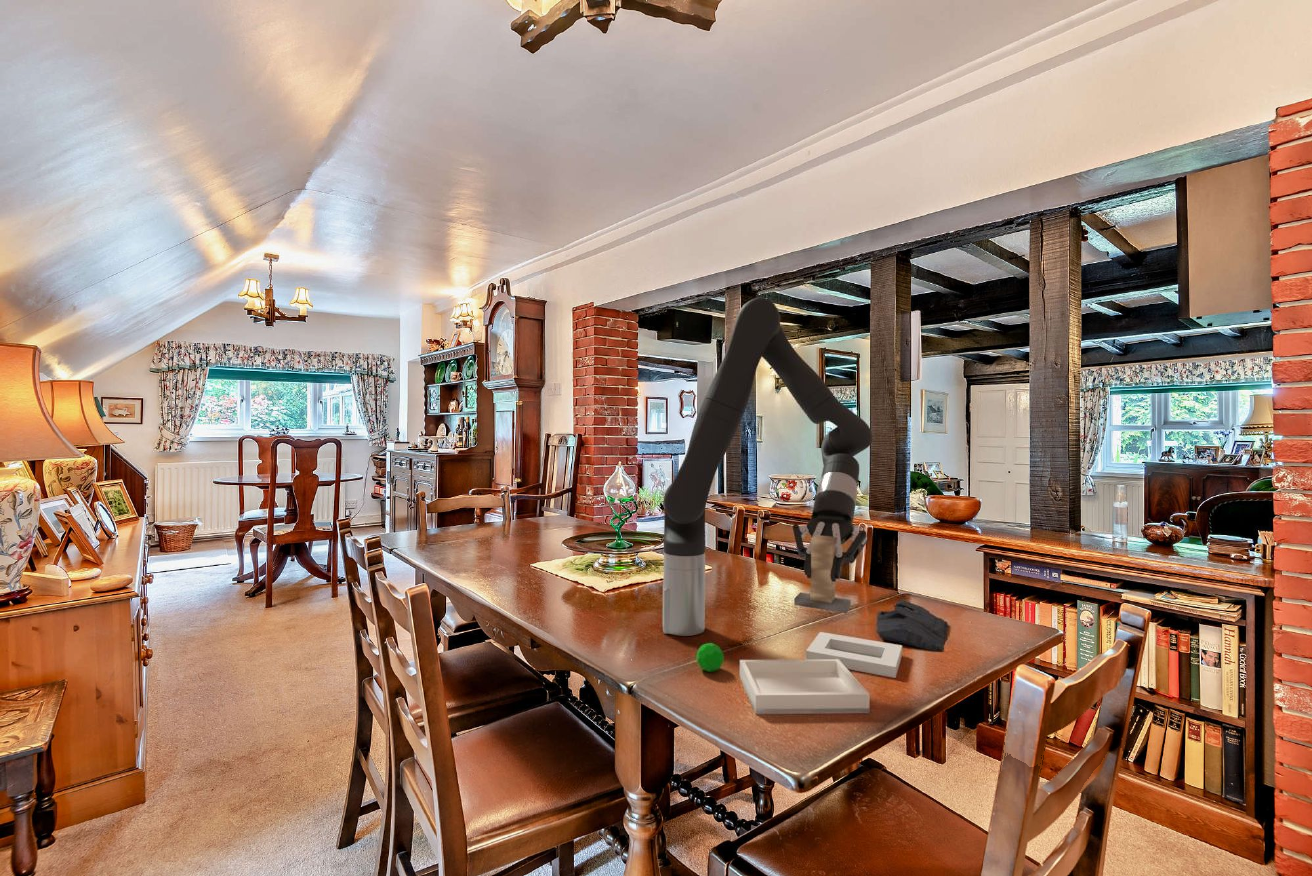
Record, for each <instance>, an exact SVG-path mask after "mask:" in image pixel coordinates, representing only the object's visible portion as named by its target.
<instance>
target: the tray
mask: <svg viewBox="0 0 1312 876" xmlns="http://www.w3.org/2000/svg"><path fill="white" fill-rule="evenodd" d="M739 678H740V681H741V683H742V685H743V688H744V691H745V693H746V695H747V697H748V700H749V703H750V704H751V707H752V710H753V711H754V714H755V715H804V714H805V715H806V714H807V715H816V714H817V715H818V714H823V715H824V714H829V715H831V714H870V700H871V699H870V698H871V697H870V696H871V695H870V693H869V692H868V690H866V688H865V687H864V686H863V685H862V684H861V683H860V682H859V681H858V680H857V678H856V677H855V676H854V675H853V674H852V673H851V672H850V669H847V668H846V667H845V666H844V665H843V664H842V662H841V661H840V660H839V659H806V658H805V659H739Z"/></svg>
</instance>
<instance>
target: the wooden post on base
mask: <svg viewBox="0 0 1312 876" xmlns="http://www.w3.org/2000/svg"><path fill="white" fill-rule="evenodd" d="M811 538H812V537H811ZM835 547H836V537H831V536H820V535H815V536H814V537H813V538H812V546H811V578H810V590H809V591H810V592H809V593H806V592H799V593H798V594H797V595H796V596H795V597H794V600H793V601H794V602H793V603H794V604H793V605H794V606H798V607H805V608H811V609H816V610H818V609H819V610H824V611H831V612H836V613H843V614H847V613H848V612H849V610H850V608H851V605H852V604H851V603H852V600H851V599H848V598H841V597H836V582H833V581H832V580H831V577H830V574H831V568H832V565H833V559H834V558H835Z"/></svg>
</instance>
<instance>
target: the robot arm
mask: <svg viewBox="0 0 1312 876" xmlns="http://www.w3.org/2000/svg"><path fill="white" fill-rule="evenodd" d="M762 358H763V359H764V361H766V363H767V364H768V365H769V366H770V367H771V368H772V369H773V371H774V372H775V374H776V375H777V376H778V377H779V379H780V380H781V381H782V382H783V384H784V386H785V387H786V389H787V390H788V391H789V393H790V395H791V396H792V398H793V399H794V400H795V402H796V403H797V404H798V405H799V407H800V409H801V410H802V411H803V412H804V414H805V415H806V416H807V418H808V419H809V420H810V422H812V423H813V424H815V425H820V424H822V423H825V422H829V423H832V424H833V425H834V426H836V427H835V428H833V429H831V430H830V431H829V432H828V433H826V434H825V436H824V437H823V439H822V442H821V445H820V449H821V456H822V464H823V467H822V472H821V477H820V480H819V484H818V486H817V489H816V492H815V499H814V502H813V507H812V512H811V516H810V519H809V521H808V522H807V524H805V525H801V526H800V525H799V524H797V523H793V525H792V530H793V536H794V540H795V544H796V550H797V553H798V556H799V557H800V558H805V559H804V563H803V571H804V575H806V577H807V579H811V546H812V538H813V537H814V536H815V535H820V536H831V537H836V547H835V558H834V559H833V565H832V568H831V574H830V577H831V580H832V581H833V582H835V583H836V582H837V580H840V578H841V576H842V575H841V574H842V568H843V565H844V564H846V563H849V564H853V563H855V561H856V560H857V558H858V557H859V555H860V553H861V552H862V550H863V549H864V548H865V546H866V544H867V543H868V535H867V531H866V530H856V529H854V526H853V522H854V517H855V516H854V515H855V509H856V506H857V502H858V501H857V498H858V484H859V477H860V464H859V461H858V459H856V458H855V456H857V455H858V454H859V453H860V454H861V453H862V452H863V451H864V450H867V449H868V448H869V447H870V445H872V442H873V433H872V431H871V428H870V426H869V424H867V422H866V421H865V420H864V419H862V418H861V417H860V416H858V415H857V414H856V413H855V412H853V411H852V410H850V409H849V408H848V407H847V406H846V405H844V404H843V403H842V402H841V401H840V400H838V399H837V397H836V396H835V395H834V393H833V392H832V391H831V389H830V388H829V386H828V385H827V384H826V382H824V380H823V379H822V378H821V377H820V376H819V374H818V373H817V372H816V371H815V370H814V369H813V368H812V367H811V366H810V365H809V364H808V363H807V362H806V361H805V360H804V359H803V358H802V357H801V356H800V355H799V353H798V352H797V351H796V350H795V348H794V346H793V345H792V344H791V343H790V341H789V339H788V338H787V336H786V334H785V332H784V330H783V329H782V326H781V315H780V311H779V310H778V307H777V306H776V305H775V303H774V302H773V301H772V300H770V299H769V298H765V297H755V298H753V299H749V301H747V302H746V303H744V304H743V305H742V307H741V308H740V309H739V312H738V313H737V316H736V319H735V323H734V326H733V331H732V334H731V338H730V340H729V343H728V346H727V350H726V352H725V355H724V357H723V359H722V361H721V363H720V365H719V367H718V369H717V370H716V373H715V375H714V377H713V379H712V381H711V384H710V385H709V387H708V389H707V392H706V393H705V396H704V399H703V401H702V403H701V405H700V408H699V410H698V412H697V416H696V419H695V421H694V425H693V428H692V431H691V436H690V440H689V444H688V447H687V450H686V454H685V456H684V459H683V461H682V462H681V465H680V467H679V469H678V471H677V474H676V475H675V477H674V479H673V480H672V482H671V483H670V484H669V486H668V487H667V489H666V490H665V493H664V496H663V508H664V509H663V510H664V512H663V513H664V515H663V516H664V519H663V521H664V523H663V524H664V525H663V526H664V527H663V583H662V631H663V634H670V635H674V636H682V637H688V636H689V637H690V636H697V635H699V634H702V633H704V632H705V629H706V628H705V626H706V624H705V623H706V617H705V615H706V614H705V613H706V609H705V607H706V506H707V502H708V497H709V495H710V491H711V487H712V485H713V481H714V479H715V475H716V472H717V470H718V468H719V466H720V465H721V462H722V460H723V458H724V456H725V454H726V453H727V451H728V450H729V448H730V445H731V443H732V441H733V439H734V437H735V435H736V433H737V431H738V429H739V426H740V424H741V422H742V419H743V417H744V415H745V411H746V409H747V406H748V403H749V400H750V396H751V393H752V388H753V385H754V380H755V375H756V372H757V369H758V367H759V363H760V362H761V359H762ZM807 533H808V534H809V535H810V537H811V539H810V541H809V545H808V546H807V547H806V546H804V542H803V541H804V540H803V539H805V537H806V534H807ZM851 538H852V543H851V544H850V545H849V547H848V549H847V550H846V551H843V544H845V543H846V542H847V541H849V540H850V539H851Z"/></svg>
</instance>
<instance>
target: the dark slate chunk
mask: <svg viewBox="0 0 1312 876" xmlns="http://www.w3.org/2000/svg"><path fill="white" fill-rule="evenodd" d="M893 608H894V609H893V610H888V611H887V610H885V611H884V610H882V611H878V612H877V614H876V615H877V616H876V633H877V635H878V637H879V638H880V639H882V640H883V641H889V642H893V643H894V642H895V643H900V644H904V645H907V646H910V647H914V648H919V649H923V650H926V651H933V652H943V651H944V649H945V645H946V642H947V638H948V637H947V636H948V630H949V624H948V622H947V621H945V620H944V619H942V618H941V617H938V616H936V615H935V614H932V613H931V612H930V611H929V610H928V609H926V608H925V607H923V606H920V605H918V604H914V603H911V602H909V601H907V600H905V599H898V601H897V602H896V603H894V605H893Z"/></svg>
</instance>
